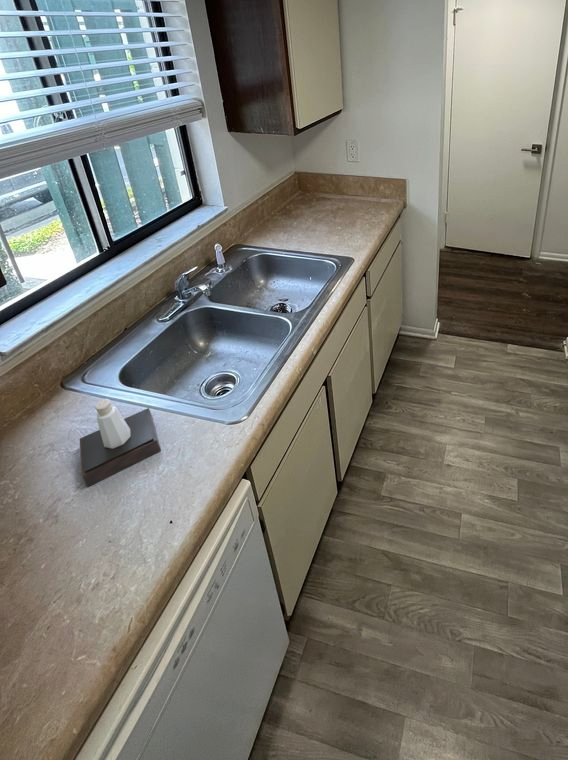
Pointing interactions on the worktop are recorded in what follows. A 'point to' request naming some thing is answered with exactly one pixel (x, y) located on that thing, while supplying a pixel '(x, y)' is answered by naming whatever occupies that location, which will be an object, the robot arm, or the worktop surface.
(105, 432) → the pepper shaker
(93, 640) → the worktop surface
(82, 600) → the worktop surface
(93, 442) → the wedge
